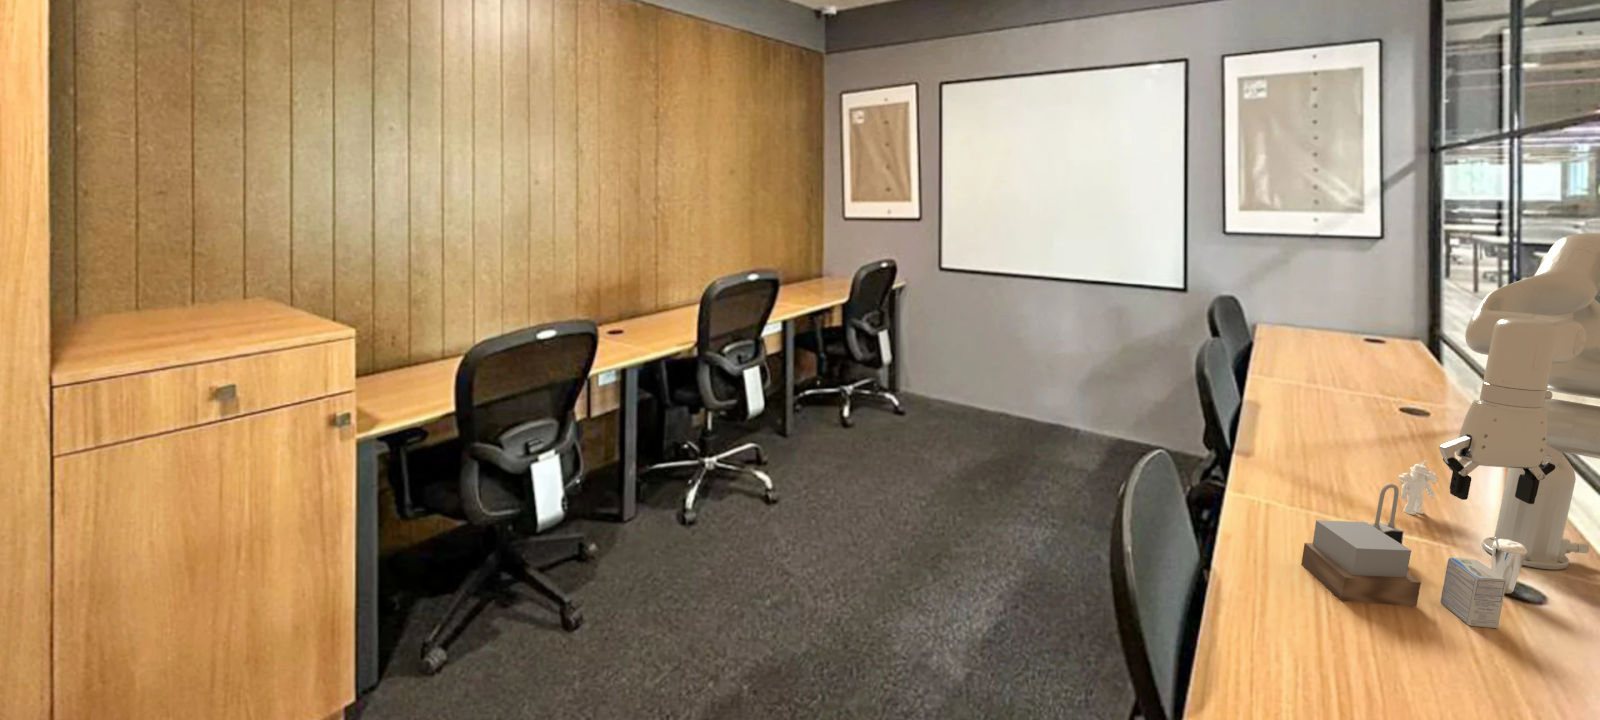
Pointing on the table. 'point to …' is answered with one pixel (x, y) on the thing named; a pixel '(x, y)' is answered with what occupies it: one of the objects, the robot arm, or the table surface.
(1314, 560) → the lower block
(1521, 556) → the milkshake
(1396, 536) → the padlock
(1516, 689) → the table surface
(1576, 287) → the robot arm
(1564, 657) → the table surface
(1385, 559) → the upper block
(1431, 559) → the table surface
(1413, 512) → the blocky character figurine
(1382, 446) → the table surface
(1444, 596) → the medicine box
